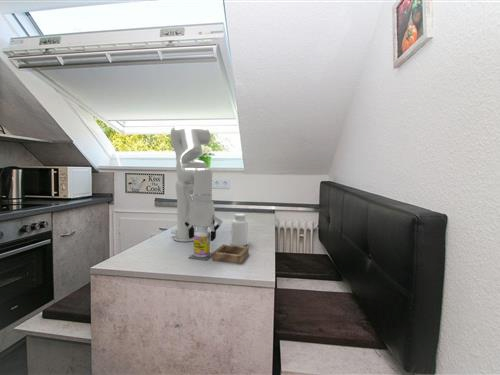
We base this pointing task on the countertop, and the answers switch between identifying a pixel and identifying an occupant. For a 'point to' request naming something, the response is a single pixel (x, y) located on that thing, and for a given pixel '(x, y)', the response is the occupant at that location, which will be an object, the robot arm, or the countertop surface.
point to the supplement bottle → (201, 242)
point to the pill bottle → (239, 230)
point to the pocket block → (231, 258)
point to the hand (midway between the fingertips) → (202, 239)
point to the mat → (200, 257)
